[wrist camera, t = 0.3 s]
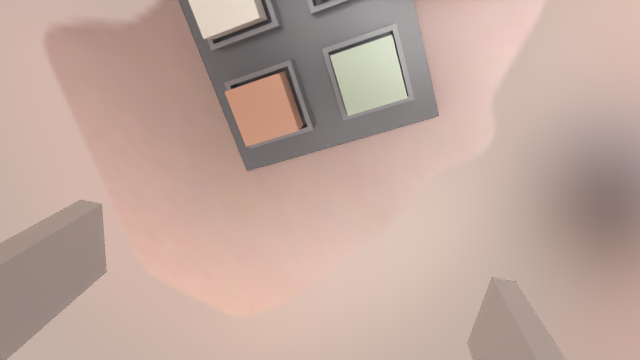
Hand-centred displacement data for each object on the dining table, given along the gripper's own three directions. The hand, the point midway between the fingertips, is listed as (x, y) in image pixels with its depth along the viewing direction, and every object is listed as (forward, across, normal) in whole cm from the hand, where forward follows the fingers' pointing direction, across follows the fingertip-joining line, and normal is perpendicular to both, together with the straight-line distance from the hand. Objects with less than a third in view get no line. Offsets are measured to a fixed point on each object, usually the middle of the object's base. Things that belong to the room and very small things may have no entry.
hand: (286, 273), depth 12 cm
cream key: (+21, -10, +9) cm, 25 cm away
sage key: (+22, +2, +5) cm, 22 cm away
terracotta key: (+22, -6, +1) cm, 22 cm away
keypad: (+24, -4, +7) cm, 26 cm away
